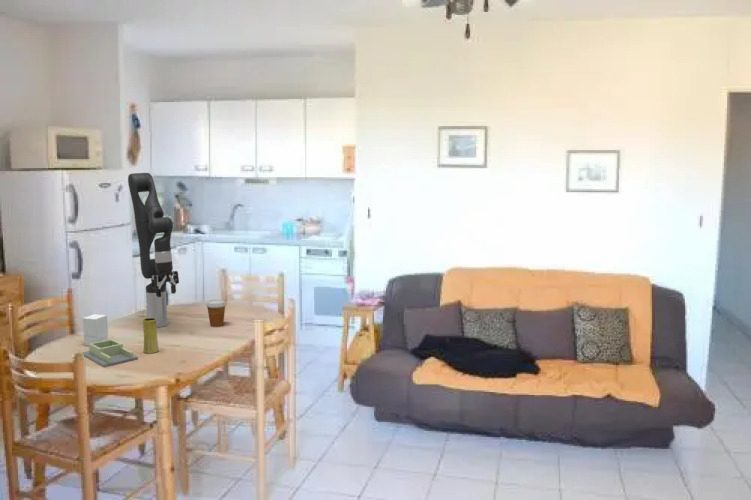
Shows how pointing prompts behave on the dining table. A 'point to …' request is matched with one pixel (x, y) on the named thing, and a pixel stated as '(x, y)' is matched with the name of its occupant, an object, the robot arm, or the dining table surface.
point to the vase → (150, 335)
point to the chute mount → (109, 353)
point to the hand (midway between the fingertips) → (166, 295)
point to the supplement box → (95, 328)
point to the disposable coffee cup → (216, 312)
